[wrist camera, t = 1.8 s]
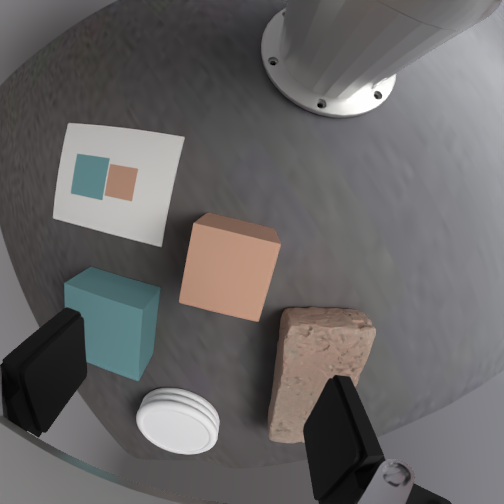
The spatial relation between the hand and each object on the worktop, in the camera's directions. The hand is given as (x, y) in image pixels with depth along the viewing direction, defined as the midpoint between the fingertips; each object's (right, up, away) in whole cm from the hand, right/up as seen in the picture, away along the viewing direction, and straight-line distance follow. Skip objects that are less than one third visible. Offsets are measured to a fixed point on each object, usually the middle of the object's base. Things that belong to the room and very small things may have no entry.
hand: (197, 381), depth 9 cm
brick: (+8, -8, +20) cm, 23 cm away
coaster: (-7, -16, +22) cm, 28 cm away
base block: (-12, -2, +18) cm, 21 cm away
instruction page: (-11, +11, +15) cm, 22 cm away
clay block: (0, +4, +16) cm, 17 cm away
